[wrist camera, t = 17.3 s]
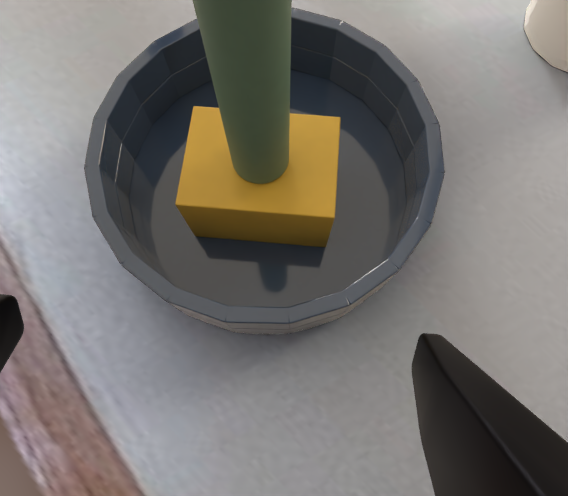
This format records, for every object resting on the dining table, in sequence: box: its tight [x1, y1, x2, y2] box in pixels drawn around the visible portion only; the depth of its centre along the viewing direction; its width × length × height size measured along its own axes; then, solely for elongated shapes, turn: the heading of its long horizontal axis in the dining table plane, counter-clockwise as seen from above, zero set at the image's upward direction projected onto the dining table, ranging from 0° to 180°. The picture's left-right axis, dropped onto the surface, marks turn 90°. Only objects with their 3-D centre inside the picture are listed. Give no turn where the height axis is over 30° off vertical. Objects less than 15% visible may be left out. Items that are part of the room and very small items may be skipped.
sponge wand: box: [175, 0, 341, 247], centre depth 12 cm, size 4×6×17 cm
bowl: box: [84, 8, 445, 335], centre depth 19 cm, size 14×14×4 cm
